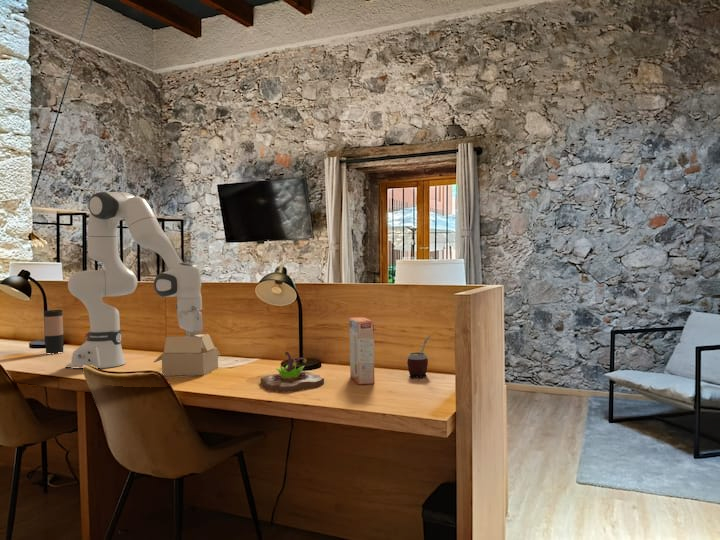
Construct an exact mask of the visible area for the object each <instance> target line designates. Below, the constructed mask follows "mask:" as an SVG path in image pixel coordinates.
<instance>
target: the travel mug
mask: <svg viewBox="0 0 720 540" xmlns="http://www.w3.org/2000/svg"><path fill="white" fill-rule="evenodd" d="M43 317H44V318H43V319H44V320H43V321H44V323H43V324H44V325H43V326H44V344H45V353H58V352H63V353H64V324H63V323H64V321H63V309H53V310H50V309H49V310H44V311H43Z"/></svg>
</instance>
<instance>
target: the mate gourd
mask: <svg viewBox="0 0 720 540" xmlns="http://www.w3.org/2000/svg"><path fill="white" fill-rule="evenodd" d="M433 335H434V334H431V335H428V336H427V337H426V338H425V339H424V342H423V344H422V345H423V346H422V349H421V351H420V352H411V353H409V354H408V357H407V368H408V372H409V379H411V378H418V379H423V377H427V370H428V366H429V365H428V364H429V360H428V356H427V355H426V353H425V352H424V350H425V347H426V344H427V342H428V340H429V339H431V337H432V336H433Z"/></svg>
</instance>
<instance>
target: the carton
mask: <svg viewBox="0 0 720 540" xmlns="http://www.w3.org/2000/svg"><path fill="white" fill-rule="evenodd" d="M214 347H215V348H213V349H211V350H209V351H206V349H205V347H201V352H200V353H164V351H163V352H162V353H160V354H159V356H158V357H156V359H154V361H153V363H157V362H159V361H161V375H162V374H164V375H165V376H166V377H168V375H203V376H202V377H204V375H205V376H206V375H209V374H210V373H212V372H214V371H216V370H218V369H219V356H221V353H220V352H219V349H218V347H216V346H214ZM217 368H218V369H217ZM215 369H216V370H215ZM213 370H214V371H213ZM211 371H212V372H211ZM209 372H210V373H209Z"/></svg>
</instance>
